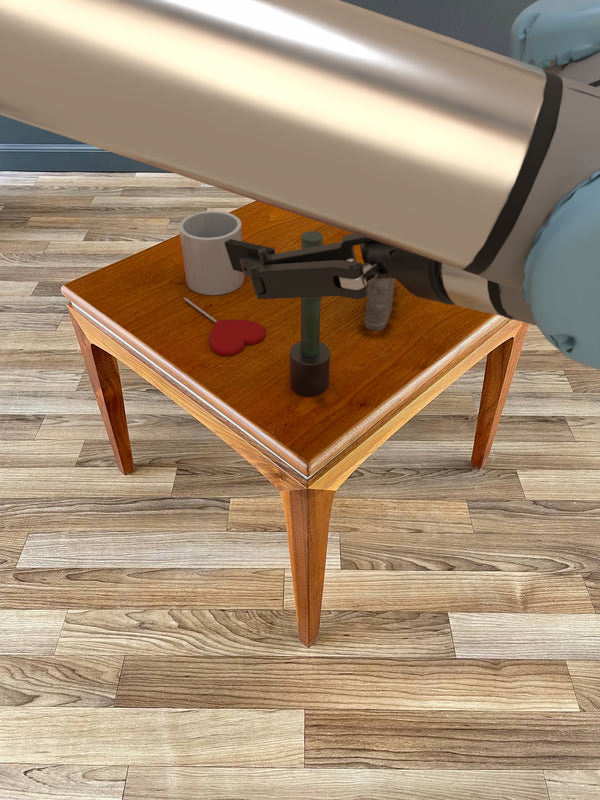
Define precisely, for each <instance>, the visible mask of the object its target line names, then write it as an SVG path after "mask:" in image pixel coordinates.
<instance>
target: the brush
mask: <svg viewBox="0 0 600 800" xmlns="http://www.w3.org/2000/svg"><path fill="white" fill-rule="evenodd" d="M300 237H301V239H300V240H301V241H300V242H301V243H300V244H301V246H300V249H305V248H311V247H316V246H322V245H324V244H323V243H324V235H323V234H322V233H321V232H319V231H315V230H308V231H305V232H302V234H301V236H300ZM321 308H322V297H301V298H300V341H298V342H296V343H294V344H293V345H292V346H291V348H290V349H289V387H290V389H291V390H292V391H293V392H294V393H295V394H297V395H300V396H303V397H317V396H319V395H322V394H323V393H325V392H326V391H327V390H328V388H329V385H330V370H331V369H330V368H331V367H330V366H331V365H330V364H331V349H330V348H329V346H328V345H327V344H325V343H323V342H321V311H322V310H321Z"/></svg>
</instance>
